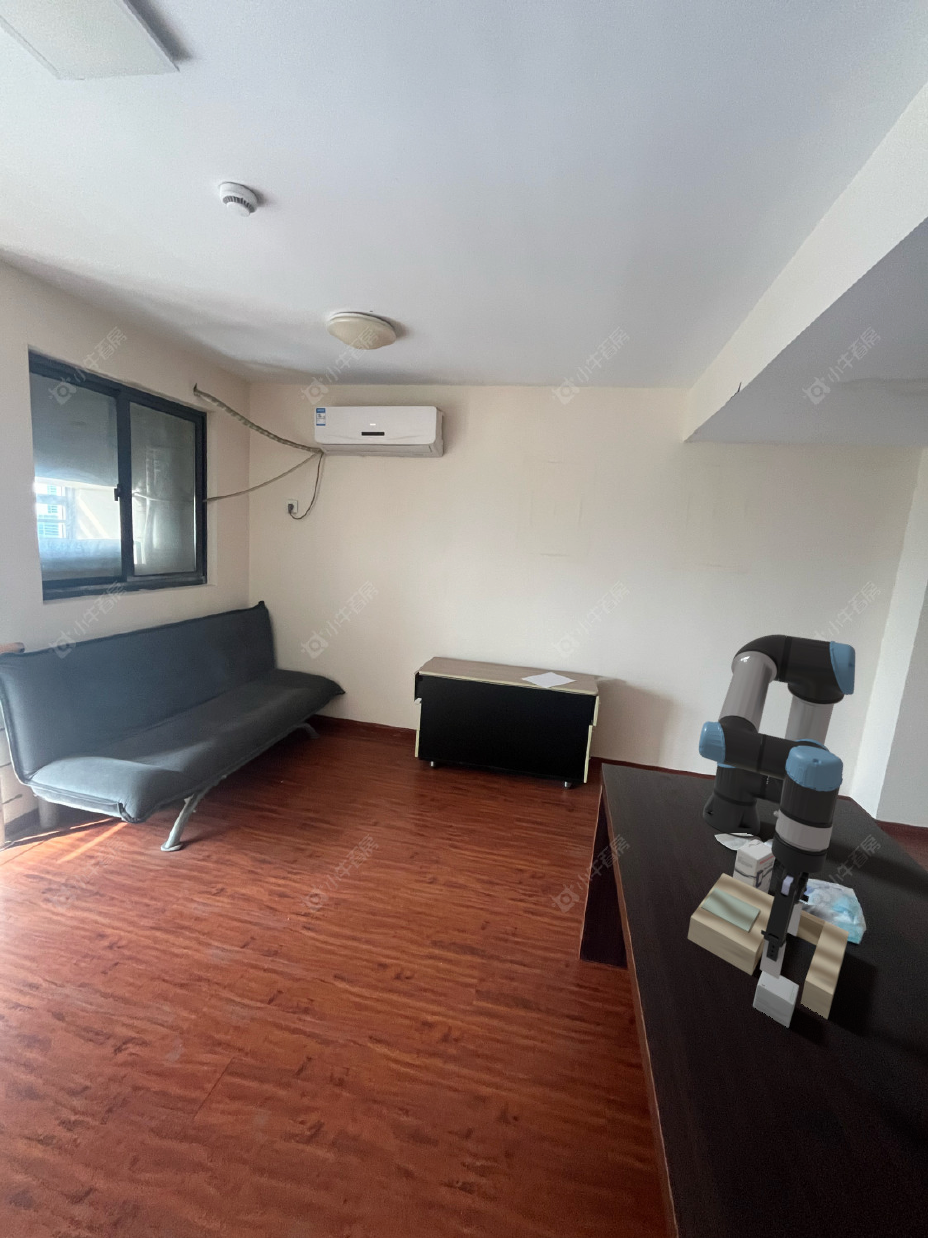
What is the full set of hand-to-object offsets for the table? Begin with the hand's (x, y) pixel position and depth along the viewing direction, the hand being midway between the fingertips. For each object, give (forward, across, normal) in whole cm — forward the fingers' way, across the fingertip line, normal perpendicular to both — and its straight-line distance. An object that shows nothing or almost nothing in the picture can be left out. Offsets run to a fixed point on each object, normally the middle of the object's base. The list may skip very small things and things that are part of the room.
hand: (779, 951), depth 87 cm
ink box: (+11, -31, -11) cm, 35 cm away
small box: (+12, -1, +1) cm, 12 cm away
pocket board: (+11, -15, -4) cm, 19 cm away
